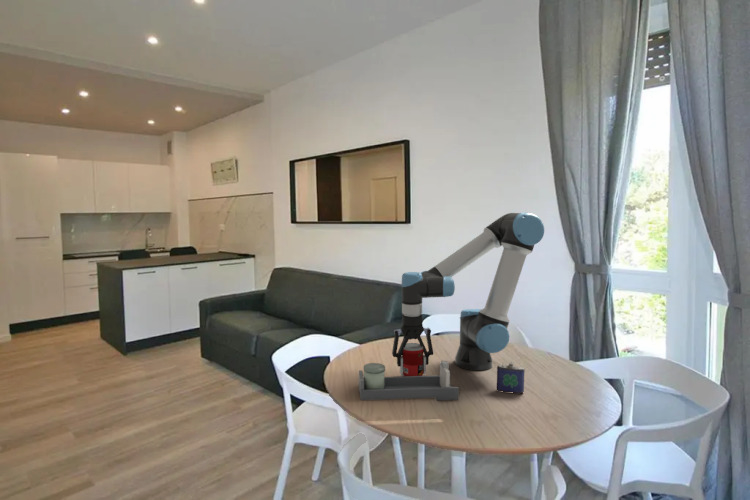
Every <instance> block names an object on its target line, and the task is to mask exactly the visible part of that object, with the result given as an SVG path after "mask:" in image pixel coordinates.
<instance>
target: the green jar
mask: <svg viewBox="0 0 750 500" xmlns="http://www.w3.org/2000/svg"><path fill="white" fill-rule="evenodd" d="M385 371H386V366H385V365H384V364H383V363H379V362H370V363H365V364H364V365H363V377H364V390H373V389H384V377H385V374H386V373H385Z"/></svg>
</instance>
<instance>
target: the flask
mask: <svg viewBox="0 0 750 500" xmlns="http://www.w3.org/2000/svg"><path fill="white" fill-rule="evenodd" d="M525 369H526V368H524V367H521V366H520V367H519V366H514V362H513V361H511V362H509V363H508V364H507V365H506V364H503V363H502V364H499V365H497V368H496V391H497V390H498V391H497V392H499V391H503V392H513V393H523V392H524V393H525ZM503 392H502V393H503ZM524 393H523V394H524Z"/></svg>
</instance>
